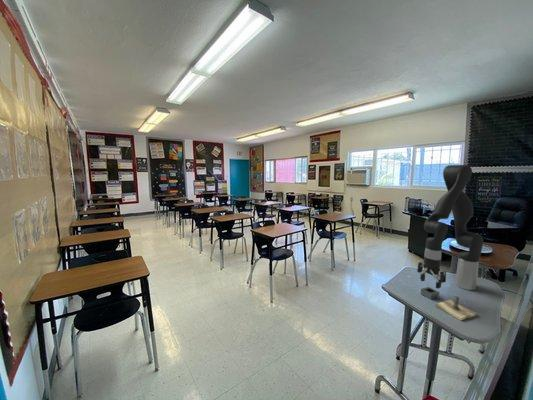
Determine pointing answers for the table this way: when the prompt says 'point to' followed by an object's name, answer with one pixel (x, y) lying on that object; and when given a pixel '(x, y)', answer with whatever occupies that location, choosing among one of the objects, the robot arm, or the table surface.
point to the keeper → (456, 309)
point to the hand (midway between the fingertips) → (429, 284)
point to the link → (429, 293)
